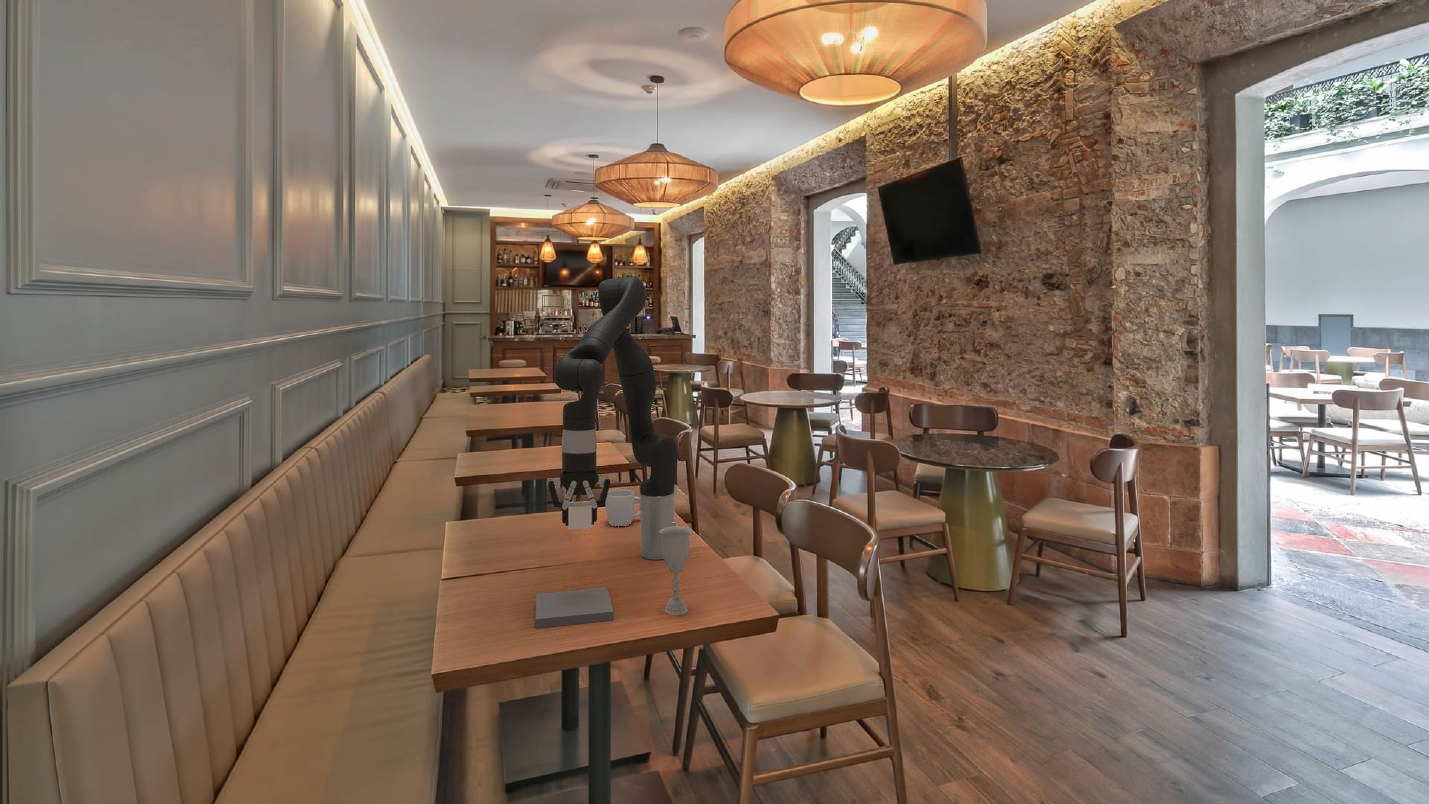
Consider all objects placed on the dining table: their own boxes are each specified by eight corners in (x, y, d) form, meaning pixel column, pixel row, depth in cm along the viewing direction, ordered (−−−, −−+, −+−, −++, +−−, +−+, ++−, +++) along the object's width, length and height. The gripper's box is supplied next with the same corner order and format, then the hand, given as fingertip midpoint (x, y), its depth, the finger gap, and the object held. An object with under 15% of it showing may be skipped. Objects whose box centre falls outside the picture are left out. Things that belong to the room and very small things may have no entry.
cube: (590, 522, 163) (590, 501, 162) (591, 528, 158) (591, 506, 157) (568, 523, 162) (567, 502, 161) (568, 529, 157) (568, 507, 156)
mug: (612, 530, 217) (612, 498, 216) (601, 523, 225) (600, 491, 224) (650, 523, 224) (649, 492, 223) (638, 517, 232) (637, 486, 230)
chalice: (679, 619, 153) (678, 537, 151) (653, 612, 156) (652, 532, 154) (698, 607, 159) (697, 529, 157) (673, 601, 162) (672, 524, 160)
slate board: (607, 595, 166) (607, 587, 166) (613, 620, 152) (613, 611, 152) (536, 602, 162) (536, 594, 162) (536, 628, 149) (535, 619, 148)
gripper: (610, 445, 163) (610, 518, 165) (546, 447, 160) (546, 521, 162) (613, 451, 156) (613, 527, 158) (545, 452, 153) (546, 530, 154)
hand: (579, 524), depth 160 cm, fingers closed on cube, 5 cm apart
